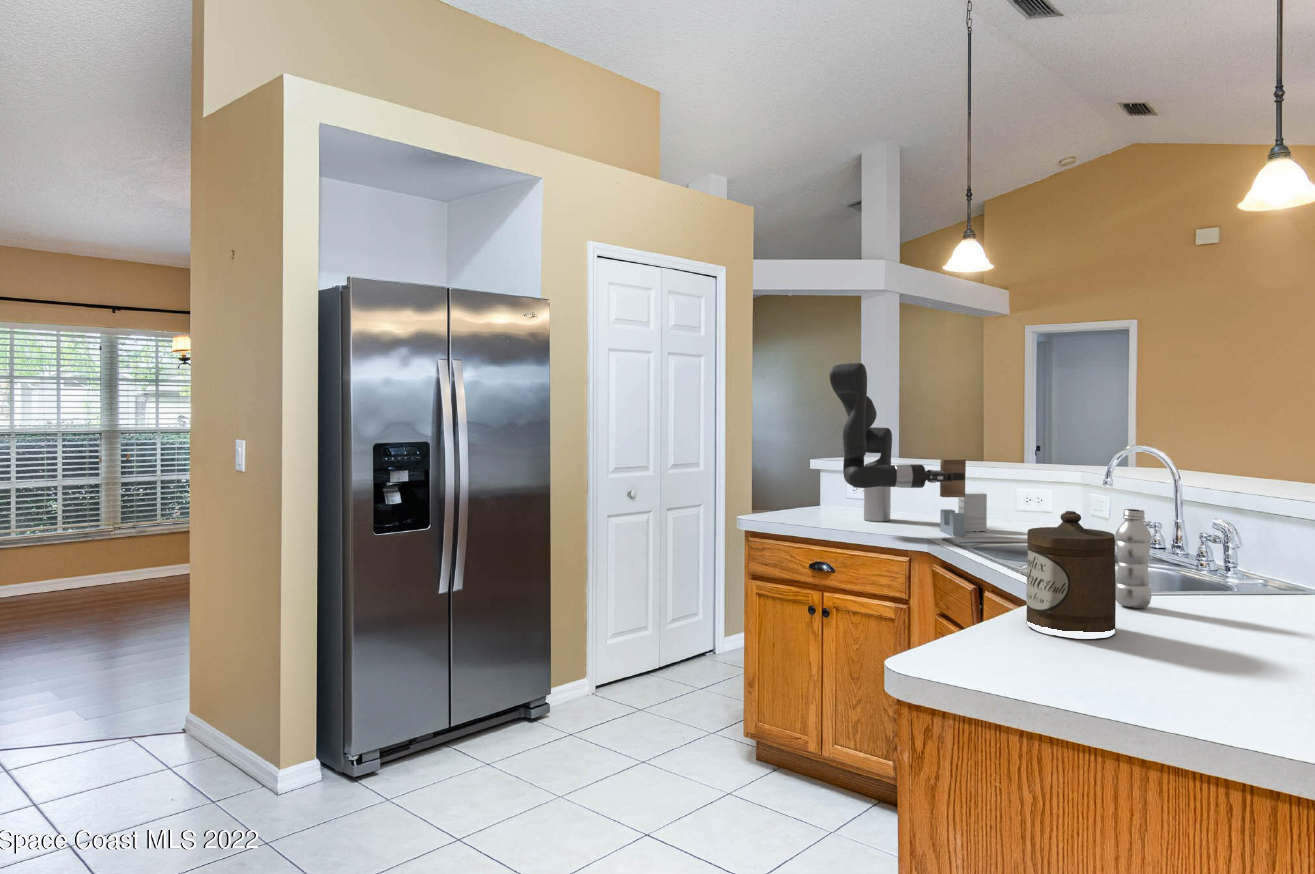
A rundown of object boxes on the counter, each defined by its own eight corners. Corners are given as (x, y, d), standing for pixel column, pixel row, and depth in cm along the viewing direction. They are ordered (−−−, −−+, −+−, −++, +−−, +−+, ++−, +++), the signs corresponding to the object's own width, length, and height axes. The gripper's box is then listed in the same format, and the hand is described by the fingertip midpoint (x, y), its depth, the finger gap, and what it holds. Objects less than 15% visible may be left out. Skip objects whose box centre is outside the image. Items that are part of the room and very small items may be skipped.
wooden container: (1013, 618, 161) (1014, 506, 160) (1090, 619, 161) (1092, 506, 160) (1046, 640, 146) (1048, 516, 146) (1131, 640, 146) (1134, 517, 145)
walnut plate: (939, 496, 267) (940, 459, 266) (961, 496, 267) (962, 459, 266) (943, 497, 264) (943, 459, 263) (965, 497, 264) (965, 459, 263)
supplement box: (980, 528, 276) (980, 490, 276) (986, 532, 269) (987, 493, 268) (957, 528, 277) (957, 490, 276) (963, 531, 269) (963, 493, 269)
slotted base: (940, 530, 272) (940, 509, 271) (951, 530, 272) (951, 509, 271) (953, 536, 260) (953, 514, 259) (964, 536, 260) (964, 514, 259)
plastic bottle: (1138, 612, 165) (1140, 513, 164) (1106, 605, 171) (1108, 509, 170) (1158, 608, 168) (1160, 510, 167) (1126, 601, 174) (1128, 507, 173)
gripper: (914, 465, 258) (970, 466, 258) (901, 462, 272) (954, 463, 272) (914, 489, 258) (970, 490, 258) (901, 485, 272) (954, 485, 272)
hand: (961, 476), depth 265 cm, fingers closed on walnut plate, 3 cm apart
